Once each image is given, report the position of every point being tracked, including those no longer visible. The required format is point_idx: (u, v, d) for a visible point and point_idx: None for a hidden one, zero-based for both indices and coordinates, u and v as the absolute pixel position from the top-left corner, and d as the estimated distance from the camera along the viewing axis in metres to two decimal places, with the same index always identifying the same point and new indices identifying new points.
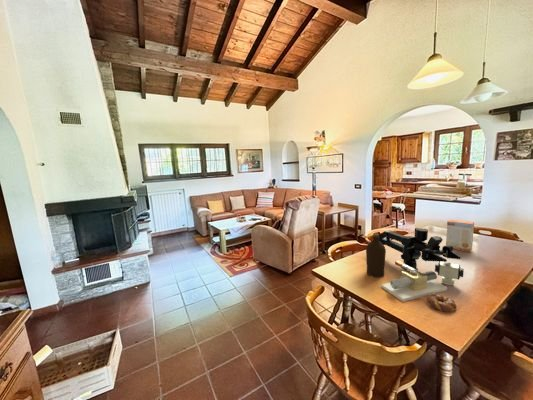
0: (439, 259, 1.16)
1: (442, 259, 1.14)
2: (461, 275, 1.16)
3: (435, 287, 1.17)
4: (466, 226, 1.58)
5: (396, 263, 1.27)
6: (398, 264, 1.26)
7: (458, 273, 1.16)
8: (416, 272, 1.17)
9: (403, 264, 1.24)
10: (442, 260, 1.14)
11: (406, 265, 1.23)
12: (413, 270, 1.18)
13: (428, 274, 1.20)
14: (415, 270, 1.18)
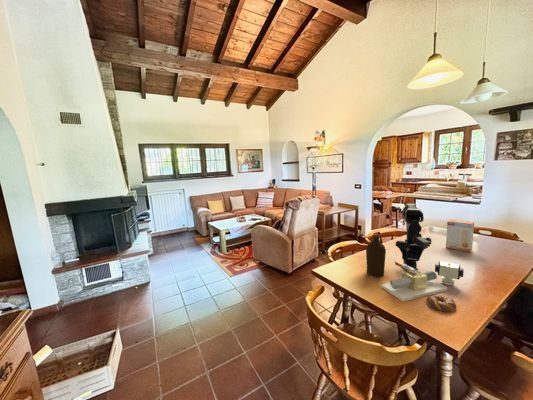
0: (403, 254, 1.25)
1: (405, 257, 1.24)
2: (461, 275, 1.16)
3: (435, 287, 1.17)
4: (466, 226, 1.58)
5: (396, 263, 1.27)
6: (398, 264, 1.26)
7: (458, 273, 1.16)
8: (416, 272, 1.17)
9: (403, 264, 1.24)
10: (404, 256, 1.25)
11: (406, 265, 1.23)
12: (413, 270, 1.18)
13: (428, 274, 1.20)
14: (415, 270, 1.18)
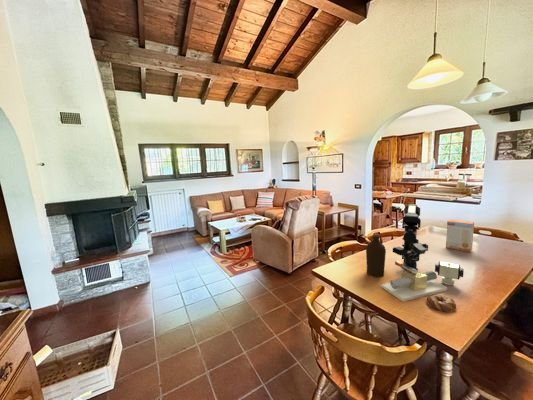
0: (407, 258, 1.28)
1: (408, 260, 1.28)
2: (461, 275, 1.16)
3: (435, 287, 1.17)
4: (466, 226, 1.58)
5: (396, 263, 1.27)
6: (398, 264, 1.26)
7: (458, 273, 1.16)
8: (416, 272, 1.17)
9: (403, 264, 1.24)
10: (407, 260, 1.28)
11: (406, 265, 1.23)
12: (413, 270, 1.18)
13: (428, 274, 1.20)
14: (415, 270, 1.18)
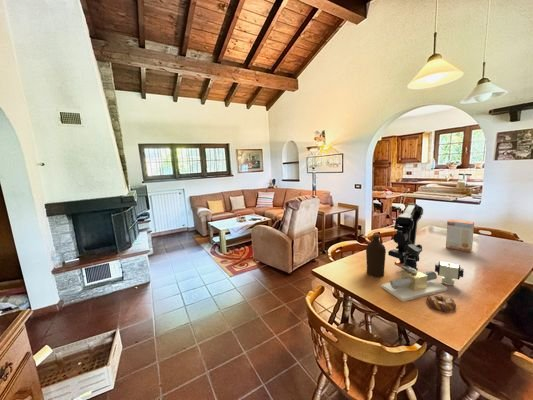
0: (401, 260, 1.27)
1: (402, 262, 1.27)
2: (461, 275, 1.16)
3: (435, 287, 1.17)
4: (466, 226, 1.58)
5: (396, 263, 1.27)
6: (398, 264, 1.26)
7: (458, 273, 1.16)
8: (416, 272, 1.17)
9: (403, 264, 1.24)
10: None
11: (406, 265, 1.23)
12: (413, 270, 1.18)
13: (428, 274, 1.20)
14: (415, 270, 1.18)
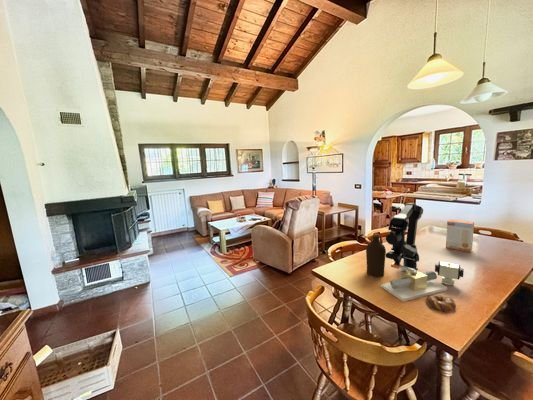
0: (396, 261, 1.26)
1: None
2: (461, 275, 1.16)
3: (435, 287, 1.17)
4: (466, 226, 1.58)
5: (392, 265, 1.25)
6: (395, 266, 1.24)
7: (458, 273, 1.16)
8: (416, 272, 1.17)
9: (400, 265, 1.23)
10: None
11: (403, 266, 1.22)
12: (413, 270, 1.18)
13: (428, 274, 1.20)
14: (414, 270, 1.19)
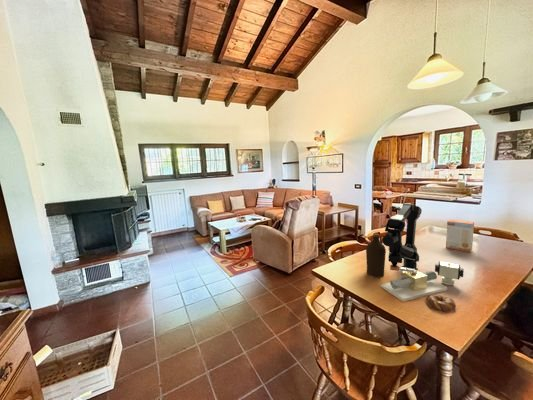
0: (394, 263, 1.24)
1: None
2: (461, 275, 1.16)
3: (435, 287, 1.17)
4: (466, 226, 1.58)
5: (392, 268, 1.22)
6: (395, 268, 1.21)
7: (458, 273, 1.16)
8: (416, 271, 1.18)
9: (399, 267, 1.21)
10: None
11: (402, 267, 1.21)
12: (414, 270, 1.18)
13: (428, 274, 1.20)
14: (414, 270, 1.19)
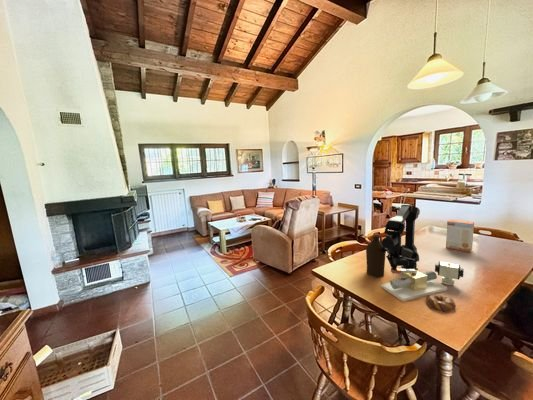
0: (394, 266, 1.20)
1: None
2: (461, 275, 1.16)
3: (435, 287, 1.17)
4: (466, 226, 1.58)
5: (394, 272, 1.18)
6: (397, 272, 1.18)
7: (458, 273, 1.16)
8: (416, 271, 1.18)
9: (400, 269, 1.19)
10: None
11: (403, 269, 1.19)
12: (414, 270, 1.18)
13: (428, 274, 1.20)
14: None
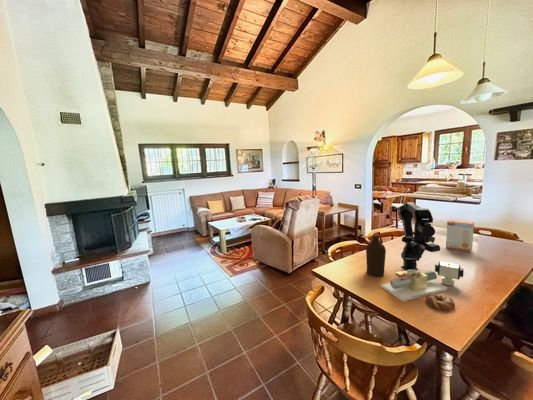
0: (420, 254, 1.24)
1: (420, 255, 1.25)
2: (461, 275, 1.16)
3: (435, 287, 1.17)
4: (466, 226, 1.58)
5: (401, 275, 1.14)
6: (403, 275, 1.14)
7: (458, 273, 1.16)
8: (415, 270, 1.19)
9: (404, 272, 1.16)
10: (419, 256, 1.25)
11: (405, 271, 1.17)
12: None
13: (428, 274, 1.20)
14: None
